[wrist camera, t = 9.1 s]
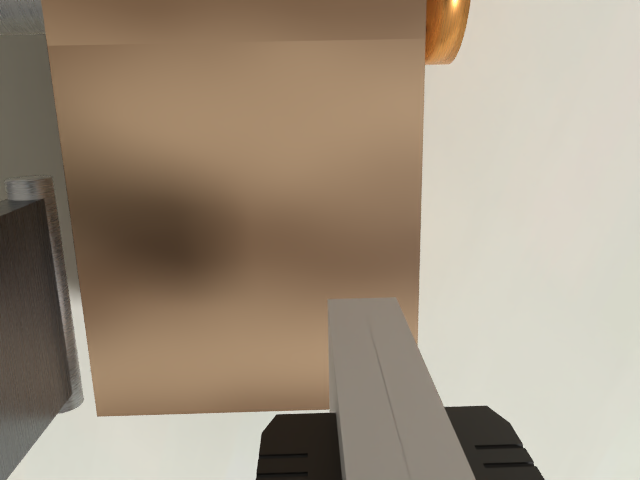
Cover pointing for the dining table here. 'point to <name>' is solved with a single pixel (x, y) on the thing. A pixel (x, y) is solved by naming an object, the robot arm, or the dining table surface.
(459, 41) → the pin
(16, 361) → the silver flat rectangular plate
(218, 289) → the block
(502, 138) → the dining table surface
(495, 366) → the dining table surface
